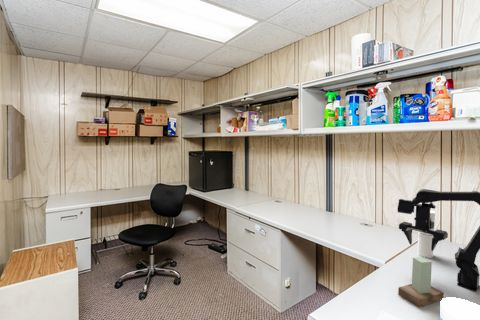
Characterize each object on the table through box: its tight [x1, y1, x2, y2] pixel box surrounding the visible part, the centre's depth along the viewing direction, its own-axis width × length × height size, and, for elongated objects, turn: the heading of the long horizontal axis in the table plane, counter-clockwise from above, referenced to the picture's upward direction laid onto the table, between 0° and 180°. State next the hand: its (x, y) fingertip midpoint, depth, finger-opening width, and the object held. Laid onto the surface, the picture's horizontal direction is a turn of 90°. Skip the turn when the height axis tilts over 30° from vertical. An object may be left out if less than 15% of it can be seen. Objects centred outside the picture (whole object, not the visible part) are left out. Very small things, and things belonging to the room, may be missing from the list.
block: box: [411, 256, 433, 293], centre depth 107 cm, size 4×4×13 cm
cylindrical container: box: [416, 209, 436, 259], centre depth 146 cm, size 7×7×25 cm
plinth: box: [397, 283, 445, 308], centre depth 108 cm, size 14×9×3 cm, turn 110°
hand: (421, 247), depth 126 cm, fingers open, 9 cm apart
